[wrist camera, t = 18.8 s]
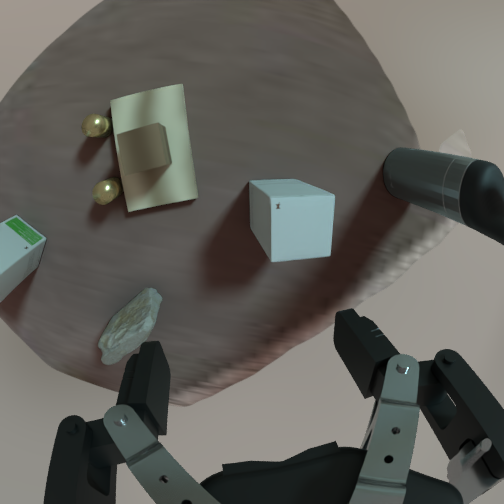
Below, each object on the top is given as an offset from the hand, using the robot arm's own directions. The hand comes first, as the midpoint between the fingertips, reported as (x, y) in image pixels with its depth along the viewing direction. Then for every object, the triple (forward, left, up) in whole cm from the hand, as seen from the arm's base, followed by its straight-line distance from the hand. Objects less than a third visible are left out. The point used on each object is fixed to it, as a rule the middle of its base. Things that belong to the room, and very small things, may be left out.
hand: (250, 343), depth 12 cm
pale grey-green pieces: (+7, -10, -30) cm, 33 cm away
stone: (+17, +15, -30) cm, 37 cm away
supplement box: (-8, +1, -30) cm, 31 cm away
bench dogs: (+14, -10, -30) cm, 34 cm away
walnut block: (+8, -9, -28) cm, 30 cm away
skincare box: (+34, -1, -30) cm, 45 cm away
